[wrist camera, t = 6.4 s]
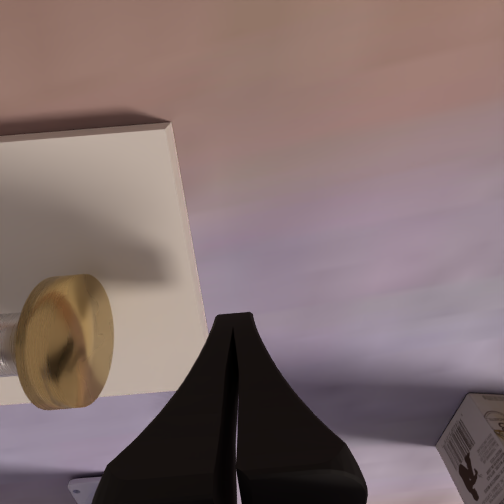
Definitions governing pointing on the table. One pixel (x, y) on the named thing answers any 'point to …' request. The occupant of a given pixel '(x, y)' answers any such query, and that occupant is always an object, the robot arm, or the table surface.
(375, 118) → the table surface
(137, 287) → the shaft housing
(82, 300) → the shaft
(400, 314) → the table surface
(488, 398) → the coffee box
